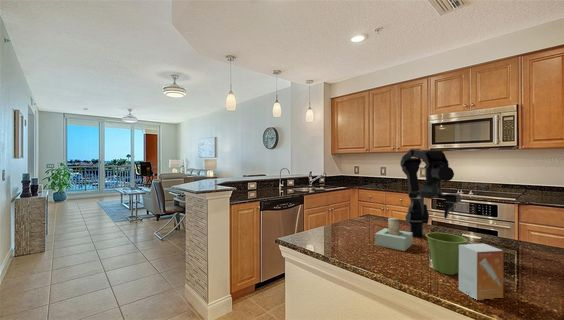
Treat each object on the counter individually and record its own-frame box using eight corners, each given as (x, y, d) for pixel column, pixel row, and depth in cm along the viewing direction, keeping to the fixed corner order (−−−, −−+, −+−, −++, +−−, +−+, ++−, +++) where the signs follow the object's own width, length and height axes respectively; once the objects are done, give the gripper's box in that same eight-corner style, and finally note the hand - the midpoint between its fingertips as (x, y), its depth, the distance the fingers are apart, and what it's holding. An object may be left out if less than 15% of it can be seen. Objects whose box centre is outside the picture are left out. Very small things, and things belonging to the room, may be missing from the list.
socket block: (384, 238, 124) (384, 228, 124) (412, 243, 116) (412, 232, 116) (375, 245, 115) (375, 233, 115) (404, 251, 107) (404, 238, 107)
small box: (477, 301, 69) (477, 251, 69) (457, 289, 76) (457, 244, 75) (504, 299, 70) (504, 250, 70) (483, 287, 77) (483, 242, 77)
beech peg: (388, 240, 119) (387, 217, 119) (399, 241, 117) (398, 218, 117) (388, 243, 114) (388, 219, 114) (400, 244, 113) (399, 220, 113)
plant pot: (476, 278, 82) (476, 242, 82) (437, 278, 83) (437, 242, 83) (452, 263, 94) (452, 232, 94) (419, 263, 95) (418, 232, 95)
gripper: (402, 179, 114) (402, 215, 114) (450, 181, 100) (451, 223, 100) (414, 178, 121) (414, 212, 121) (461, 180, 107) (461, 219, 107)
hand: (433, 216), depth 112 cm, fingers open, 9 cm apart
